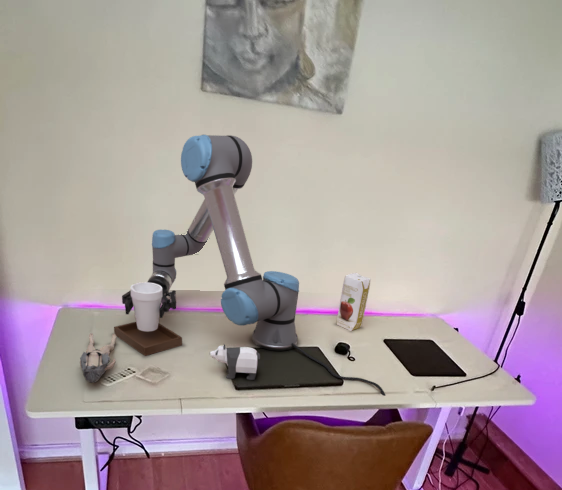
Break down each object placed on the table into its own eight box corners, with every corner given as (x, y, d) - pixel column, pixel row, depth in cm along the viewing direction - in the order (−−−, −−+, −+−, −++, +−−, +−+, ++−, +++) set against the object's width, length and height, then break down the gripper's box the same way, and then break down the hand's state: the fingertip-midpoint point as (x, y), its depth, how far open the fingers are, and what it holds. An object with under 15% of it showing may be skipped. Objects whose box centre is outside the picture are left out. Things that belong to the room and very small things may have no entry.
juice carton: (345, 319, 198) (354, 271, 188) (363, 328, 193) (374, 278, 183) (333, 324, 193) (342, 274, 183) (351, 332, 188) (361, 282, 178)
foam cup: (155, 335, 159) (154, 295, 152) (127, 330, 160) (124, 290, 153) (167, 324, 167) (167, 285, 160) (140, 318, 168) (138, 280, 161)
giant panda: (258, 371, 156) (261, 343, 151) (258, 381, 152) (261, 351, 146) (209, 368, 155) (210, 339, 149) (208, 377, 150) (209, 348, 145)
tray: (182, 345, 165) (182, 337, 164) (145, 356, 157) (144, 347, 155) (150, 325, 175) (150, 317, 174) (114, 334, 166) (113, 326, 165)
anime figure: (118, 328, 160) (109, 363, 134) (119, 350, 163) (111, 389, 137) (85, 327, 158) (70, 362, 132) (87, 350, 161) (72, 389, 135)
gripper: (191, 300, 178) (180, 327, 159) (125, 293, 176) (107, 319, 157) (191, 279, 174) (180, 304, 155) (124, 271, 172) (105, 296, 153)
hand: (143, 312), depth 156 cm, fingers closed on foam cup, 9 cm apart
